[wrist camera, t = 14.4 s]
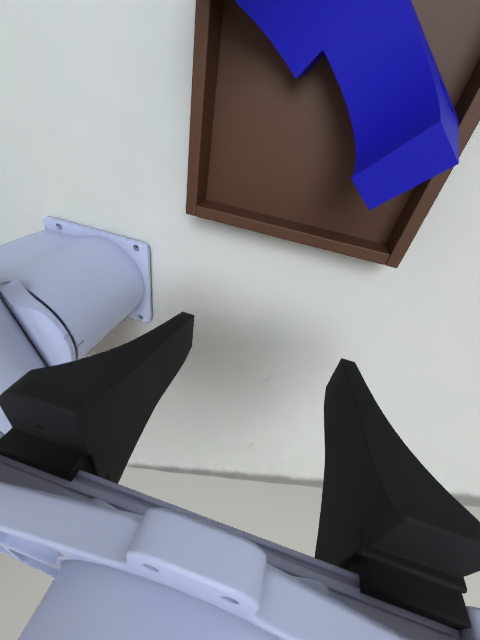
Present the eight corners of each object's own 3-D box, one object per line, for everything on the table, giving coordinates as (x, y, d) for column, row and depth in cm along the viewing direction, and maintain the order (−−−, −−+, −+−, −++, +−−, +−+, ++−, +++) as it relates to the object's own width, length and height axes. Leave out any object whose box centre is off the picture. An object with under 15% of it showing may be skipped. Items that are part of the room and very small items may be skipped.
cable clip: (230, -63, 12) (137, -89, 9) (316, -238, 9) (223, -399, 5) (363, 178, 16) (336, 227, 12) (458, 119, 13) (458, 163, 9)
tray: (199, 205, 20) (185, 213, 18) (234, -266, 10) (212, -358, 8) (390, 253, 18) (397, 268, 16) (649, -241, 9) (741, -347, 7)
